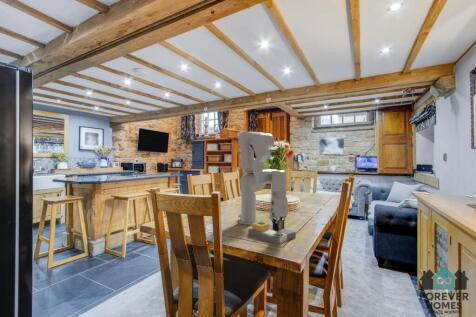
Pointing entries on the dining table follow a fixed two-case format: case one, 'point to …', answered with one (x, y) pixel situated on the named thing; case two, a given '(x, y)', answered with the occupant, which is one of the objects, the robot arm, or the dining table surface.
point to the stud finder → (260, 226)
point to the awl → (279, 227)
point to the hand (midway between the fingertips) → (278, 229)
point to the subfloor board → (273, 235)
